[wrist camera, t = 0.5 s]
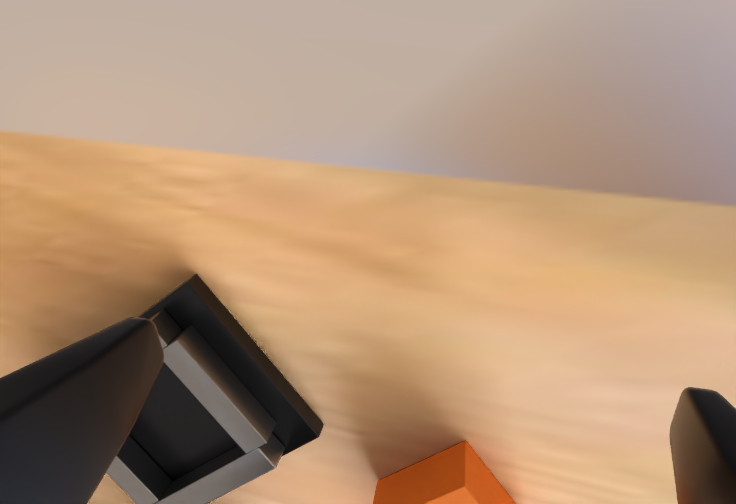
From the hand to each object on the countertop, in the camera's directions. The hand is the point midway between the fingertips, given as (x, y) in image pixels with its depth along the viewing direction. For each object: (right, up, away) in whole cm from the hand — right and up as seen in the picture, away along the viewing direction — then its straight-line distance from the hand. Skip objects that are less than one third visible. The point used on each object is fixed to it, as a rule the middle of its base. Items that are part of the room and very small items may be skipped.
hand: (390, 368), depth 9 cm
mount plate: (-10, -6, +20) cm, 23 cm away
